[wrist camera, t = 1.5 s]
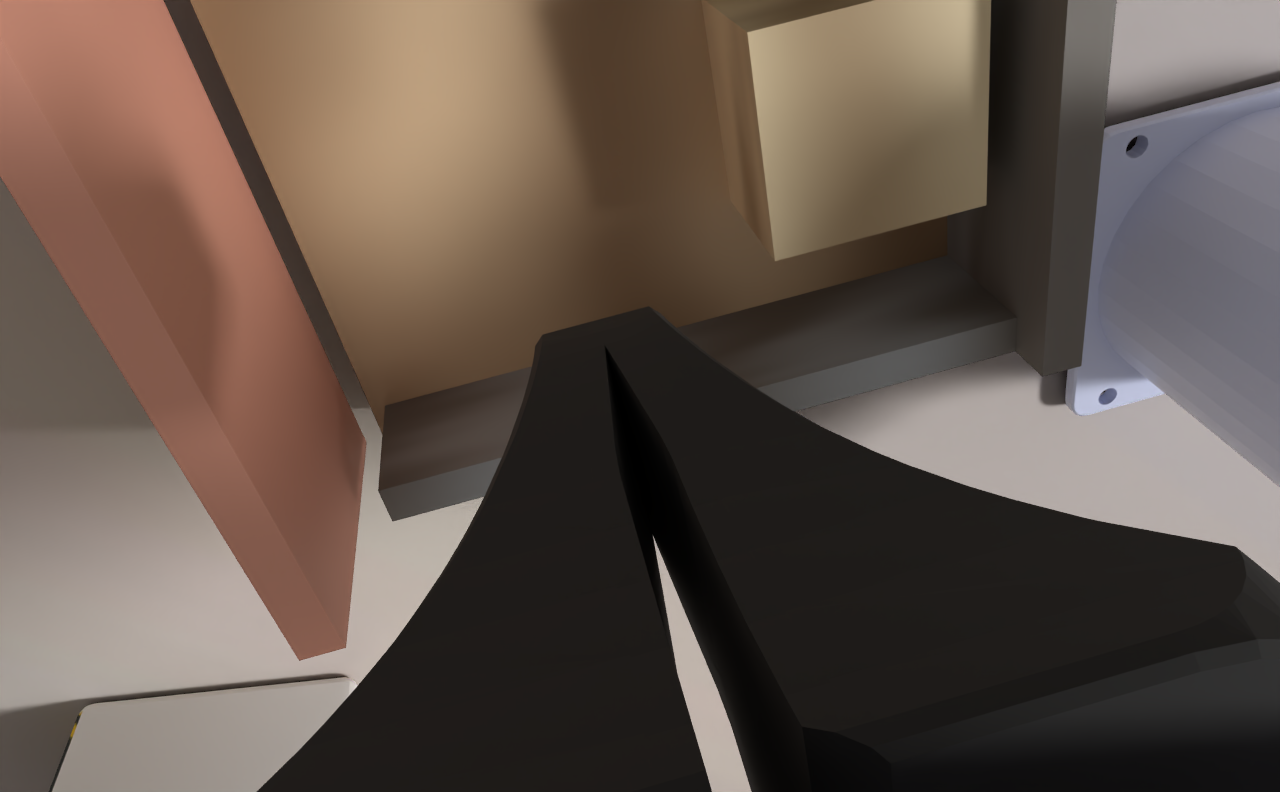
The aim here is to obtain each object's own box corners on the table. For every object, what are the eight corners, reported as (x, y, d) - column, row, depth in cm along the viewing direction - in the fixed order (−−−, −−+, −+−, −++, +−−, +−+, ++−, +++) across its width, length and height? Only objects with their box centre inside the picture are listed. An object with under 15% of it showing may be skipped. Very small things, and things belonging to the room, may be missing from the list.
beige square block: (910, -55, 17) (991, -30, 15) (915, 152, 19) (986, 205, 17) (701, -3, 17) (747, 32, 14) (730, 200, 19) (775, 260, 17)
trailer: (958, -471, 15) (1172, -579, 11) (956, 336, 24) (1072, 457, 19) (91, -273, 14) (-55, -302, 10) (418, 482, 23) (414, 641, 19)
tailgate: (120, -93, 14) (-42, -36, 10) (366, 442, 21) (345, 647, 16) (69, -81, 14) (-120, -16, 10) (331, 452, 21) (299, 660, 16)
